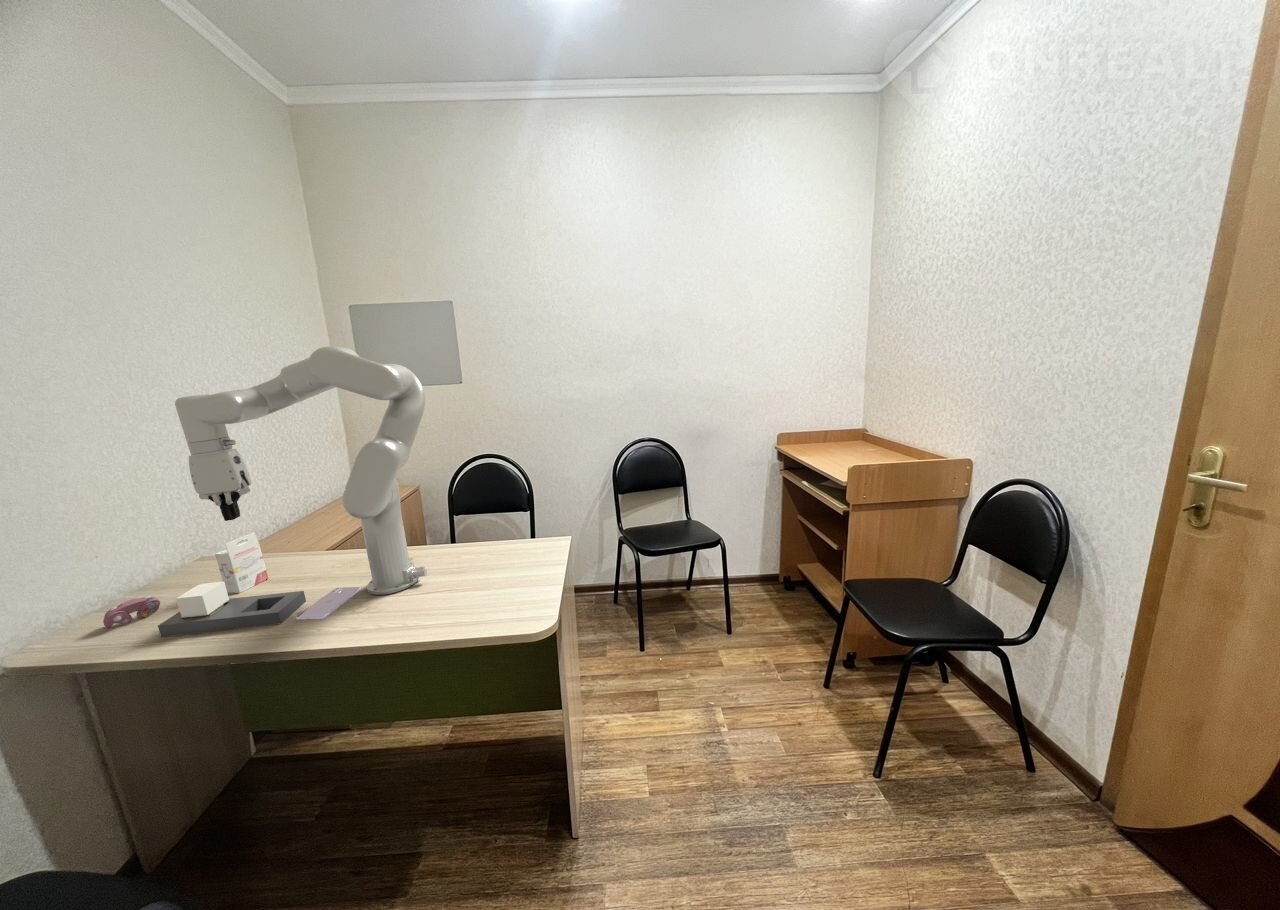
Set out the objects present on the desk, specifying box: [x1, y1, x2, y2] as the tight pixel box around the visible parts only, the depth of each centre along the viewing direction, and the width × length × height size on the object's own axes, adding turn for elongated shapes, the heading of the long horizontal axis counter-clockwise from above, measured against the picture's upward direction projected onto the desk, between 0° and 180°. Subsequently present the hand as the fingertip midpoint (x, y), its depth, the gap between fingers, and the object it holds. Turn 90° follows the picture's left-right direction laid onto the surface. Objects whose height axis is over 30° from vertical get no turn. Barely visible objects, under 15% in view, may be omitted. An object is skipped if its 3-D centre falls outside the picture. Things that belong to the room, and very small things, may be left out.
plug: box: [176, 581, 230, 618], centre depth 113 cm, size 6×7×8 cm
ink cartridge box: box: [214, 532, 269, 594], centre depth 131 cm, size 9×5×15 cm, turn 168°
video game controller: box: [102, 595, 161, 628], centre depth 116 cm, size 10×5×7 cm, turn 150°
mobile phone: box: [295, 586, 361, 621], centre depth 120 cm, size 8×1×15 cm
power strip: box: [157, 590, 307, 638], centre depth 115 cm, size 26×10×4 cm, turn 97°
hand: (232, 518), depth 116 cm, fingers closed
